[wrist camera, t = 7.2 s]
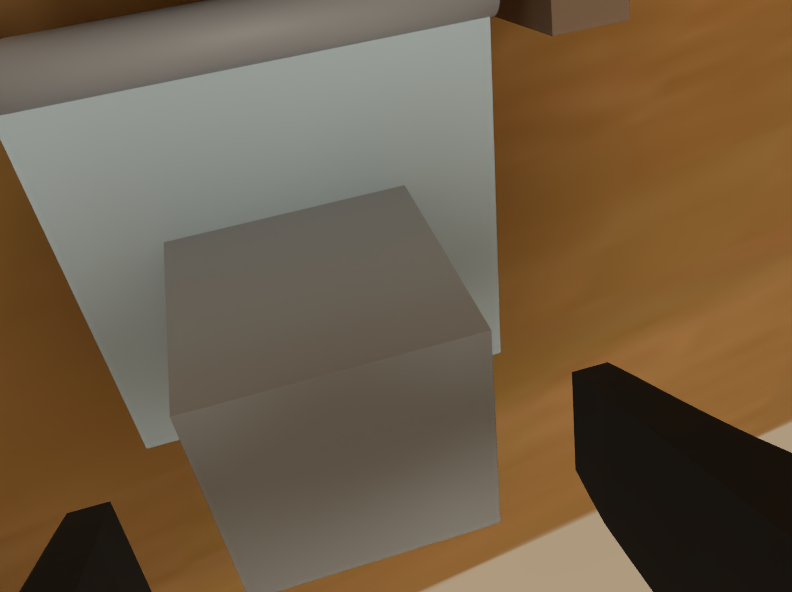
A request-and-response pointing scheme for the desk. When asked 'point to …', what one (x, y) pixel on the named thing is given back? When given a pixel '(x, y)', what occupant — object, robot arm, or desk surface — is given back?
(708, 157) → the desk surface
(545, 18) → the frame
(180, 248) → the grey cube
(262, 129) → the flap
